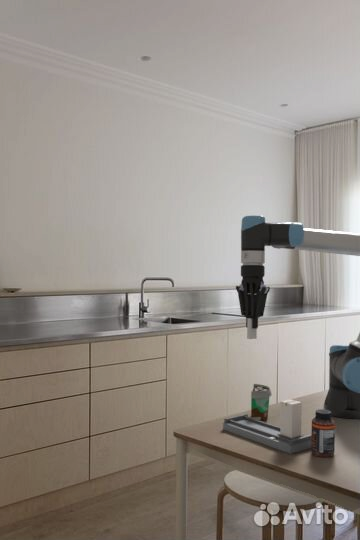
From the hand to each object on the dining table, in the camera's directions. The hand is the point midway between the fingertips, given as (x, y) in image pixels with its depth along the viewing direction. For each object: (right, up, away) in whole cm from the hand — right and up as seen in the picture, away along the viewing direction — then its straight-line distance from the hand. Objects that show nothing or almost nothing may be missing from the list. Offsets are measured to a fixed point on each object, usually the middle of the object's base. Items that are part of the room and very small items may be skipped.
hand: (251, 338), depth 167 cm
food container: (+4, -27, +3) cm, 27 cm away
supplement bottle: (+15, -27, -29) cm, 42 cm away
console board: (+2, -26, -16) cm, 31 cm away
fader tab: (+8, -24, -23) cm, 34 cm away
